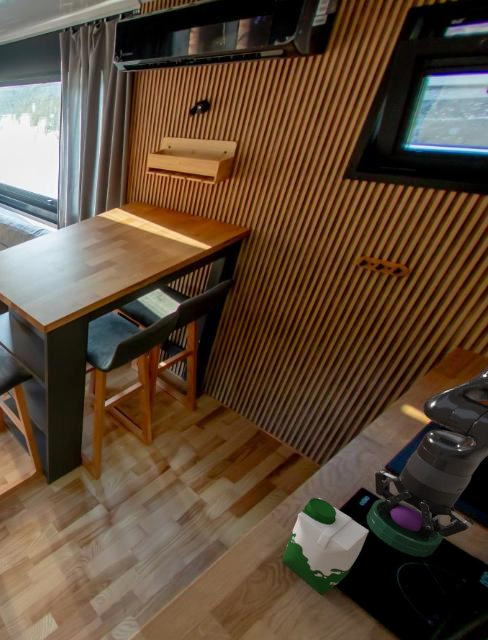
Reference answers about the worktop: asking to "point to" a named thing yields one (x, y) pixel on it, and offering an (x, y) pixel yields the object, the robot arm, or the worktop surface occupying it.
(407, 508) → the ball
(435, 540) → the bowl
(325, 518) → the milk carton
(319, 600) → the worktop surface
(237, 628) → the worktop surface
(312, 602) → the worktop surface
